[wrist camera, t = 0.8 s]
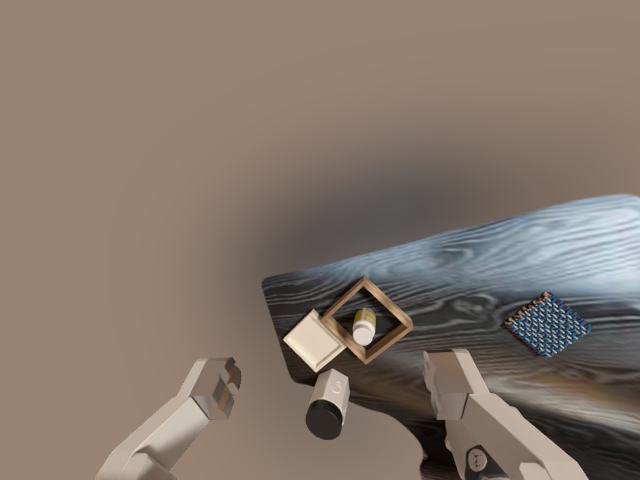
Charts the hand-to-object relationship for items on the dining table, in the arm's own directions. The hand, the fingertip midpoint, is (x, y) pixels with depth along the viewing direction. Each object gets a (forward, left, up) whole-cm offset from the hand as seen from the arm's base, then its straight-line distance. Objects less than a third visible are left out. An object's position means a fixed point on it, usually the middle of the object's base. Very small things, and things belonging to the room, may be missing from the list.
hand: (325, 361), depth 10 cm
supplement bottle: (-14, +18, -45) cm, 50 cm away
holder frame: (-14, +18, -45) cm, 50 cm away
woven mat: (-38, -8, -46) cm, 60 cm away
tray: (-10, +32, -45) cm, 56 cm away
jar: (-22, +38, -45) cm, 63 cm away
